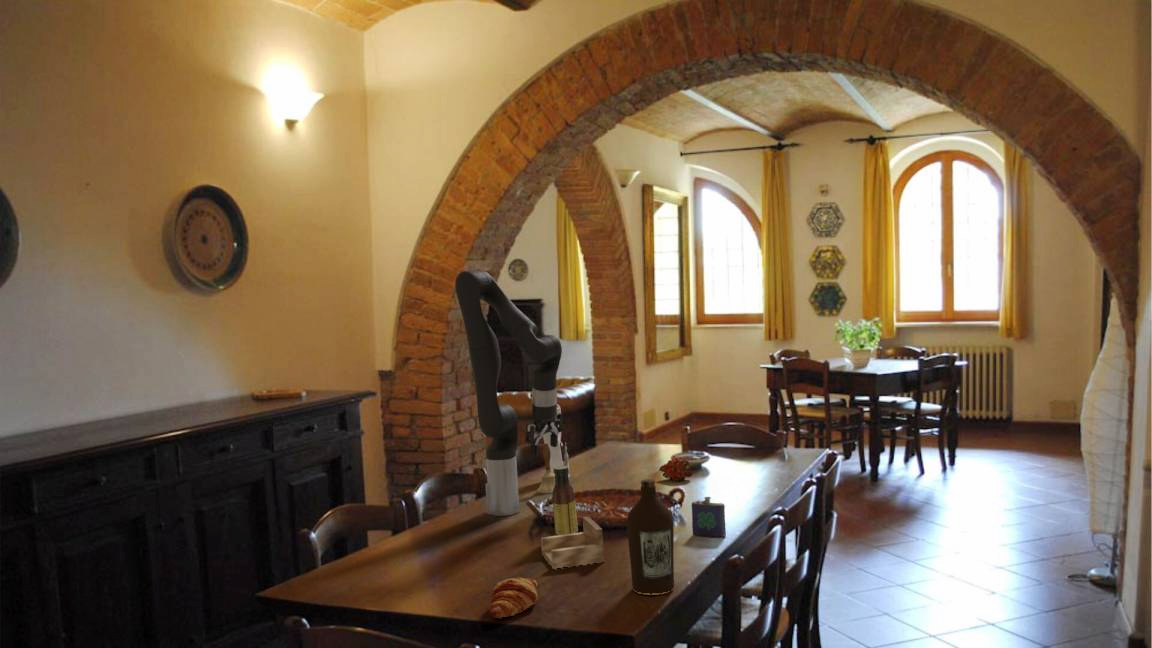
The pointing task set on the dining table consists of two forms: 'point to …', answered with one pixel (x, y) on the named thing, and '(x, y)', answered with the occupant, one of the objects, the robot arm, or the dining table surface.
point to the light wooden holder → (575, 547)
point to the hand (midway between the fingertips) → (544, 450)
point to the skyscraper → (556, 451)
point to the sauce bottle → (564, 503)
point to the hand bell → (547, 474)
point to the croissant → (512, 596)
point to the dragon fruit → (677, 469)
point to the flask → (708, 519)
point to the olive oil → (651, 542)
